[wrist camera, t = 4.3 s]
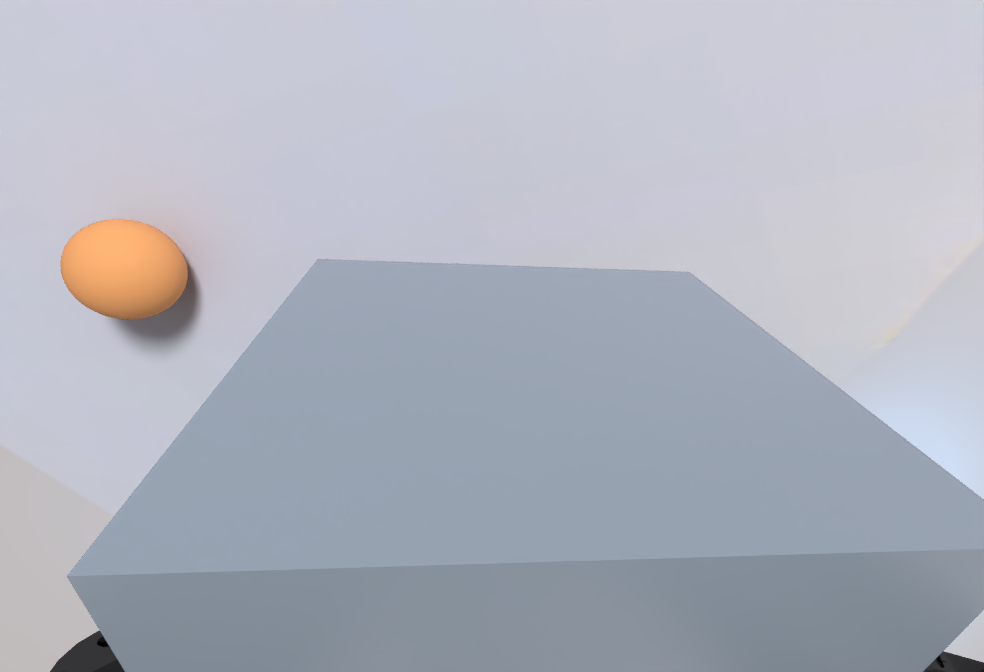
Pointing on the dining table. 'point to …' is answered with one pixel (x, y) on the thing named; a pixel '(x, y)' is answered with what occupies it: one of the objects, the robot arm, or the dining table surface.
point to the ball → (124, 269)
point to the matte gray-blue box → (531, 493)
